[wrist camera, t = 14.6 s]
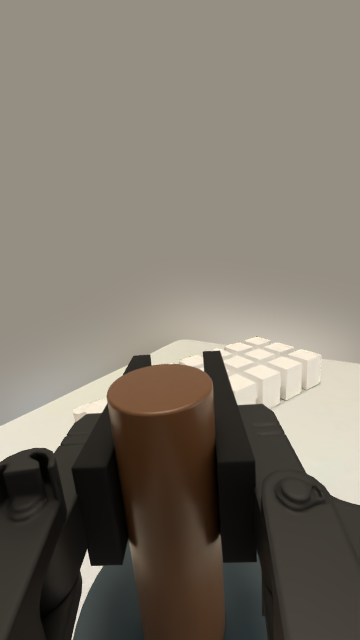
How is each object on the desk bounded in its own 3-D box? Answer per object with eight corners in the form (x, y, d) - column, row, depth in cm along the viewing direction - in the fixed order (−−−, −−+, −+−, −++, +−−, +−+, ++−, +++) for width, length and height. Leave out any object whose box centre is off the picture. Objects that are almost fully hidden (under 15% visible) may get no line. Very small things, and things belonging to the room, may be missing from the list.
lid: (310, 1026, 4) (350, 618, 2) (17, 757, 7) (-96, 450, 4) (299, 571, 10) (307, 345, 8) (145, 518, 12) (121, 336, 10)
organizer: (321, 354, 42) (94, 451, 24) (319, 383, 43) (102, 494, 25) (256, 336, 53) (68, 394, 35) (256, 359, 54) (74, 426, 36)
